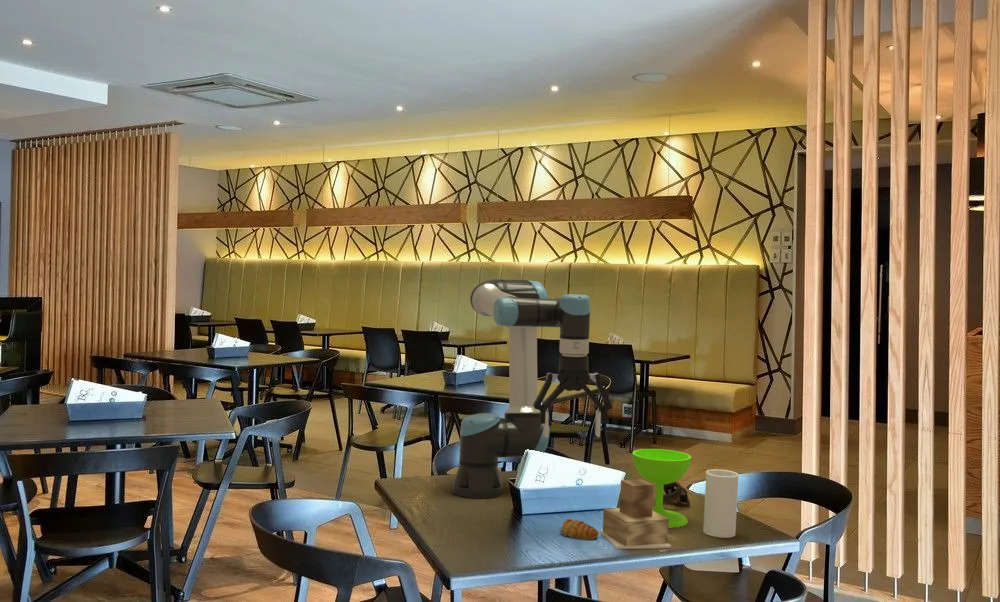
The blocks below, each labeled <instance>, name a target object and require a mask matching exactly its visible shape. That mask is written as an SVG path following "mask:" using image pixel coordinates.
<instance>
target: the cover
mask: <svg viewBox="0 0 1000 602" xmlns="http://www.w3.org/2000/svg"><path fill="white" fill-rule="evenodd" d="M654 490H655V489H654V483H652V482H650V481H648V480H646V479H645V480H644V479H642V478H641V479H639V478H638V479H621V480H620V494H619V495H620V497H619V507H615V508H603V516H602V517H603V518H602V530H603V533H605V534H607V535H608V536H610V537H611V538H613V539H614V540H616V541H618V542H619V543H621V544H622V545H624V546H634V545H647V544H661V543H669V541H668V540H669V528H668V527H669V519H668V518H666V517H664V516H662V515H660V514H658V513H656V512H654V511H653V509H654V506H653V505H654Z"/></svg>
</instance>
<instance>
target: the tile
mask: <svg viewBox="0 0 1000 602" xmlns="http://www.w3.org/2000/svg"><path fill="white" fill-rule="evenodd" d="M599 533H600V534H601V535H602V536H603V537H604V538H605V539H607V541H609V543H610V544H611V545H612V546H613V547H614V548H615V549H616V550H624V549H627V550H628V549H629V550H631V549H633V550H634V549H639V550H640V549H672V545H671V544H670V543H669V542H668V543H661V544H647V545H634V546H624V545H622V544H621V543H619V542H618V541H616V540H614V539H613V538H611V537H610V536H608V535H607V534H605V533H603V529H599Z"/></svg>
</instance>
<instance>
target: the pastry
mask: <svg viewBox="0 0 1000 602" xmlns="http://www.w3.org/2000/svg"><path fill="white" fill-rule="evenodd" d="M560 533H561V534H562V535H563V536H564V537H570V538H571V539H577V540H586V541H587V540H595V539H596V538H598V537H599V534H600V531H598V530H597V529H596V528H595V527H593V526H592V525H590V524H588V523H585V522H584V521H583V520H581V521H579V519H576V520H575V519H574V520H572V519H571V518H566V519H565V520H564V521H563V522H562V525H561V528H560Z"/></svg>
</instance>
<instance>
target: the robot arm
mask: <svg viewBox="0 0 1000 602" xmlns="http://www.w3.org/2000/svg"><path fill="white" fill-rule="evenodd" d="M469 300H470V301H469V302H470V305H471V307H472V309H473V311H475V312H476V313H477V314H479V315H481V316H485V317H493V320H494V322H495V324H496V325H497V326H500V327H501V326H503V327H504V326H505V327H507V329H508V332H509V333H508V337H509V338H508V339H509V340H508V341H509V342H508V343H509V344H508V345H509V346H508V349H509V350H508V352H509V353H508V354H509V361H508V363H509V368H508V369H509V373H508V375H509V376H508V378H509V380H508V381H509V382H508V383H509V384H508V385H509V389H508V390H509V393H508V394H509V398H508V399H509V407H508V408H507V409H506V410H505V411H504V418H501V415H500V414H499V413H496V412H494V413H493V412H481V413H475V414H471V415H468V416H465V417H464V418H463V419H462V420H461V423H460V424H461V425H460V430H459V435H460V436H459V459H458V460H459V462H458V468H457V470H456V474H455V477H454V478H453V482H452V487H451V488H452V489H451V491H452V493H453V494H454V495H456V496H460V497H463V498H469V499H491V498H492V499H493V498H497V497H499V496H502V495H503V493H504V492H503V491H504V490H503V487H504V486H503V483H502V482H503V481H502V479H501V475H500V474H501V473H500V471H499V458H524V457H523V455H524V452H525V450H527V449H529V450H535V451H540V452H543V454H544V453H545V452H546V450H547V447H548V445H549V440H550V433H551V431H550V423H549V412H550V411H549V410H548V409H549V408H550V407H551V405H552V404H553V403H554V402H555V400H556V399H557V398H558V397H560V395H561V394H562V393H563V392H564V391H567V392H572V391H575V392H580V391H582V390H583V392H585V394H586V395H587V396H588V398H589V399H591V401H592V402H593V404H594V405H595V406H596V407H597V408H598V409H595V422H594V423H595V425H594V426H595V427H594V429H595V430H594V432H595V434H594V435H595V436H596V437H597V438H600V437H601V424H604V423H605V420H606V419H605V417H606V416H605V413H606V411H608V410H611V409H612V408H613V405H612V403H611V401H610V399H609V396H608V395H607V391H606V390H605V388H604V386H603V384H602V381H601V379H602V378H601V374H600V373H598V372H594V373H589V358H590V357H589V356H588V354H589V353H590V352H589V351H590V349H589V348H590V347H589V346H590V344H589V343H590V325H591V324H590V321H591V310H592V309H591V299H590V297H589V295H586V294H581V293H580V294H576V293H575V294H572V293H570V294H569V293H567V294H563V295H562V296H561V297H558V298H557V297H556V298H548V295H547V290H546V288H545V286H544V285H543V284H542V283H541V282H540V281H536V280H529V279H500V278H499V279H498V278H494V279H487V280H485V281H481V282H480V283H478V284H477V285H476V286H475V287H474V288H473V289H472V290H471V292H470V296H469ZM538 328H559V350H558V351H559V353H560V355H559V358H558V360H559V362H558V373H551V372H550V371H549V372H546V377H545V382H544V383H543V384H542V387H541V389H540V391H539V393H538ZM556 379H557V381H558V382H559V384H558V385H557V386H556V388H555V389H554V390H553V391H552V392H551V394H550V395H549V396H548V397H547V398H546V399H545V397H546V395H547V393H548V391H549V390H550V387H551V386H552V383H554V382H555V380H556ZM590 379H591V382H594V384H595V386H596V388H597V391H598V392H599V394H600V397H601V399H602V401H603V403H604V404H602V402H600V400H599V399H598V398H597V396H595V394H594V393H593V392H592V391H591V389H590V387H588V385H587V383H588V382H589V381H590ZM544 399H545V400H544ZM543 401H544V402H543ZM542 402H543V403H542Z"/></svg>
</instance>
